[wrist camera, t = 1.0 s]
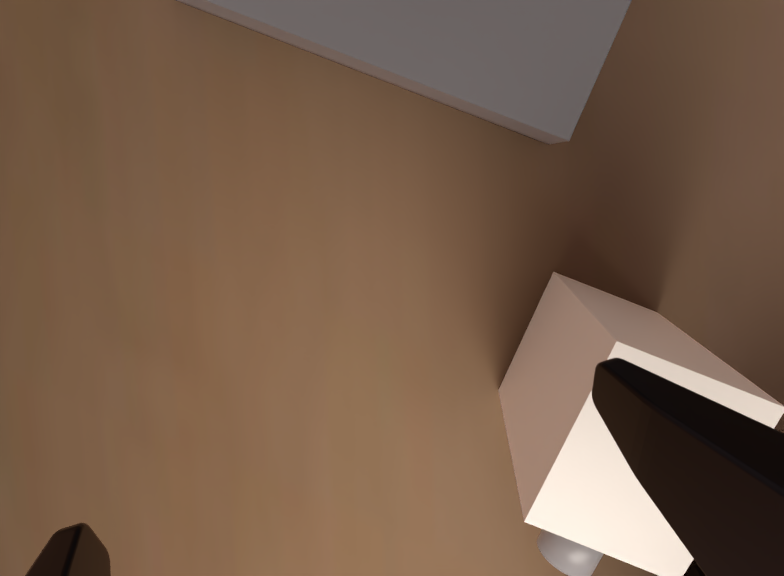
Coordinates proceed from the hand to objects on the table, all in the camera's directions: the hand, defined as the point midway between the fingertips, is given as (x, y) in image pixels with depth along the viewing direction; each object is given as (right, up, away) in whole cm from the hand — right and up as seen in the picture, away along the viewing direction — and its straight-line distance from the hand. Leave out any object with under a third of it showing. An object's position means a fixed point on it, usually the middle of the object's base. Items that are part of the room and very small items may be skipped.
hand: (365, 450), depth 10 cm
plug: (+7, 0, +11) cm, 13 cm away
